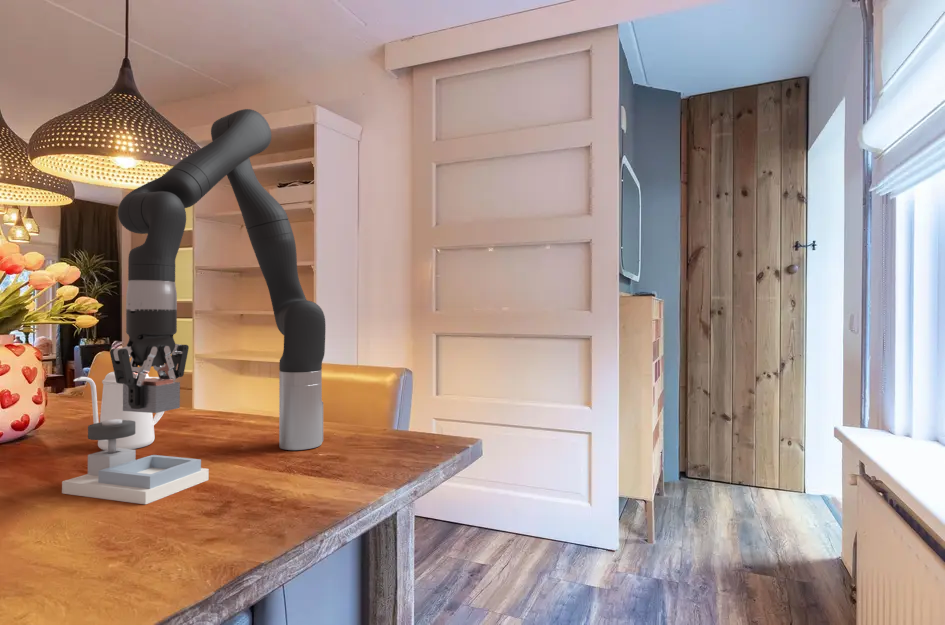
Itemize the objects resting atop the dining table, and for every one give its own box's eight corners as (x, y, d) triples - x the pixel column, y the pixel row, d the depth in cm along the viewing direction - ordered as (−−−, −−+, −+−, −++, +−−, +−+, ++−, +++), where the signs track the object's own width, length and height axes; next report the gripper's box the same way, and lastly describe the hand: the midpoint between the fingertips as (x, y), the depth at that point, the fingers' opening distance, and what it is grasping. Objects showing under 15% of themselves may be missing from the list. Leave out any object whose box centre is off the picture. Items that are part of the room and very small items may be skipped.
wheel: (115, 447, 99) (115, 416, 99) (144, 450, 97) (144, 418, 97) (77, 456, 92) (77, 423, 92) (108, 460, 90) (108, 425, 90)
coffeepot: (51, 459, 110) (52, 368, 110) (148, 433, 134) (148, 359, 134) (95, 462, 108) (96, 370, 108) (185, 435, 132) (186, 359, 132)
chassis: (131, 471, 102) (132, 442, 102) (208, 479, 96) (208, 449, 96) (62, 493, 89) (62, 460, 89) (145, 504, 84) (145, 469, 84)
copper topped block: (147, 406, 95) (148, 377, 95) (179, 407, 94) (179, 379, 94) (122, 410, 91) (122, 380, 91) (155, 413, 89) (155, 382, 89)
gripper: (169, 308, 100) (169, 398, 100) (95, 307, 86) (95, 411, 86) (201, 308, 98) (201, 400, 98) (131, 307, 84) (130, 414, 84)
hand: (151, 405), depth 92 cm, fingers closed on copper topped block, 5 cm apart
